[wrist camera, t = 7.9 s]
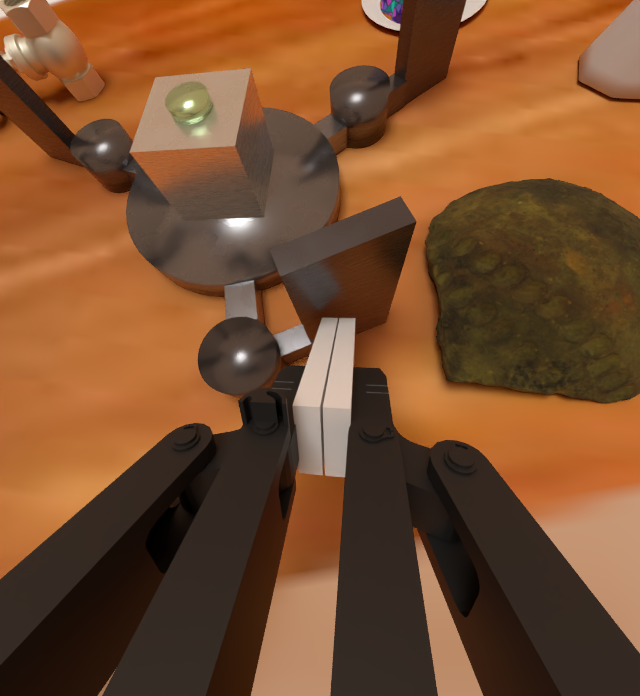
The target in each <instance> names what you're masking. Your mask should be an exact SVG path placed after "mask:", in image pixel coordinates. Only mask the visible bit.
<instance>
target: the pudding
mask: <svg viewBox="0 0 640 696" xmlns="http://www.w3.org/2000/svg"><path fill="white" fill-rule="evenodd" d="M485 2H486V0H466V4H465V7H464V11H463V15H462V19H461V22H462V21H464V20H466V19H467V18H469V17H471V16H472V15H473V14H475V13H476V12H477V11H478V10H480V8H481V7H482V6H483V5H484V4H485ZM362 7H363V9H364V11H365V13H366V15H367V16H368V17H369V18H370V19H371V20H373V21H374V22H376V23H377V24H379V25H381V26H384V27H386V28H390V29H393V30H398V31H400V24H401V15H402V7H403V0H382V4H381V9H380V0H362ZM381 10H382V11H383V13H384V14H388V15H391V17H392V20H393V21H394V22H393V21H391V20H389V19H388V18H386V17H385V16H384V15H383V13H382V12H381ZM395 22H396V23H395ZM397 23H399V24H397Z"/></svg>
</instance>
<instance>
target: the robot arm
mask: <svg viewBox="0 0 640 696" xmlns="http://www.w3.org/2000/svg"><path fill="white" fill-rule="evenodd" d="M354 350H355V318H339V323H338V318H322V320H321V323H320V325H319V328H318V331H317V334H316V337H315V340H314V343H313V346H312V349H311V352H310V355H309V358H308V361H307V364H306V366H286V367H285V368H283V369H282V370H281V371H280V372H279V373H278V375H277V377H276V379H275V382H274V383H273V385H272V388H261V389H257V390H254V391H251V392H249V393H247V394H245V395H244V396H243V397H242V398H241V399H240V400H239V401H238V402H239V407H240V412H241V417H242V421H243V426H242V428H241V429H239V430H235V431H231V432H225V433H220V434H214V435H213V433H212V431H211V429H210V427H208V426H207V425H205V424H199V423H193V424H188V425H184V426H182V427H179V428H177V429H175V430H174V431H172V432H171V433H169V434H168V435H167V436H165V437H164V438H163V439H162V440H161V441H160V442H159V443H157V444H156V445H155V446H154V447H153V448H152V449H150V450H149V451H148V452H147V453H146V454H145V455H144V456H142V457H141V458H140V459H139V460H138V461H137V462H135V463H134V464H133V465H132V466H131V467H130V468H129V469H127V470H126V471H125V472H124V473H123V474H122V475H120V476H119V477H118V478H117V479H116V480H115V481H114V482H112V483H111V484H110V485H109V486H108V487H107V488H105V489H104V490H103V491H102V492H101V493H100V494H99V495H97V496H96V497H95V498H94V499H93V500H92V501H90V502H89V503H88V504H87V505H86V506H85V507H84V508H82V509H81V510H80V511H79V512H78V513H77V514H75V515H74V516H73V517H72V518H71V519H70V520H68V521H67V522H66V523H65V524H64V525H63V526H62V527H60V528H59V529H58V530H57V531H56V532H55V533H53V534H52V535H51V536H50V537H49V538H48V539H47V540H45V541H44V542H43V543H42V544H41V545H40V546H38V547H37V548H36V549H35V550H34V551H33V552H32V553H30V554H29V555H28V556H27V557H26V558H25V559H23V560H22V561H21V562H20V563H19V564H18V565H17V566H15V567H14V568H13V569H12V570H11V571H10V572H8V573H7V574H6V575H5V576H4V577H3V578H2V579H0V696H97V695H98V694H99V692H100V691H101V690H102V688H103V687H104V685H105V684H106V682H107V681H108V680H109V678H110V677H111V675H112V674H113V672H114V671H115V672H114V674H113V676H112V678H111V680H110V682H109V684H108V686H107V688H106V690H105V691H104V694H103V695H102V696H251V691H252V687H253V682H254V678H255V673H256V669H257V664H258V660H259V655H260V650H261V646H262V641H263V637H264V632H265V627H266V623H267V618H268V614H269V609H270V605H271V600H272V596H273V591H274V587H275V582H276V577H277V573H278V568H279V564H280V559H281V555H282V550H283V545H284V541H285V536H286V532H287V527H288V523H289V518H290V514H291V509H292V504H293V500H294V495H295V491H296V480H295V474H296V470H297V466H298V467H299V473H302V474H313V475H323V470H324V463H325V476H335V477H345V486H344V501H343V516H342V531H341V546H340V561H339V576H338V591H337V607H336V621H335V636H334V652H333V666H332V667H333V668H332V681H331V696H438V694H437V687H436V681H435V674H434V667H433V660H432V654H431V647H430V640H429V634H428V628H427V621H426V614H425V607H424V601H423V594H422V587H421V581H420V574H419V567H418V561H417V554H416V547H415V541H414V534H413V527H415V528H417V529H418V532H419V535H420V537H421V540H422V542H423V545H424V547H425V550H426V552H427V555H428V557H429V560H430V562H431V565H432V568H433V570H434V572H435V575H436V578H437V580H438V582H439V585H440V588H441V590H442V592H443V595H444V598H445V600H446V602H447V605H448V607H449V610H450V613H451V615H452V618H453V620H454V623H455V625H456V628H457V630H458V633H459V635H460V638H461V640H462V643H463V645H464V648H465V650H466V653H467V655H468V658H469V660H470V663H471V665H472V668H473V670H474V673H475V676H476V678H477V680H478V683H479V685H480V688H481V691H482V693H483V695H484V696H640V653H639V652H638V651H637V650H636V648H635V647H634V646H633V644H632V643H631V642H630V641H629V639H628V638H627V637H626V635H625V634H624V633H623V632H622V630H621V629H620V628H619V627H618V625H617V624H616V623H615V621H614V620H613V619H612V618H611V616H610V615H609V614H608V612H607V611H606V610H605V609H604V608H603V606H602V605H601V604H600V602H599V601H598V600H597V598H596V597H595V596H594V595H593V593H592V592H591V591H590V590H589V589H588V587H587V586H586V584H585V583H584V582H583V581H582V580H581V578H580V577H579V575H578V574H577V573H576V572H575V570H574V569H573V568H572V567H571V565H570V564H569V563H568V561H567V560H566V559H565V558H564V556H563V555H562V554H561V552H560V551H559V550H558V549H557V547H556V546H555V545H554V544H553V542H552V541H551V540H550V538H549V537H548V536H547V535H546V533H545V532H544V531H543V530H542V528H541V527H540V526H539V524H538V523H537V522H536V521H535V519H534V518H533V517H532V515H531V514H530V513H529V512H528V510H527V509H526V508H525V507H524V505H523V504H522V503H521V501H520V500H519V499H518V498H517V496H516V495H515V494H514V492H513V491H512V490H511V489H510V487H509V486H508V485H507V484H506V482H505V481H504V480H503V478H502V477H501V476H500V475H499V473H498V472H497V471H496V470H495V468H494V467H493V466H492V464H491V463H490V462H489V461H488V459H487V458H486V457H485V456H484V455H483V454H482V453H481V452H480V451H479V450H477V449H475V448H474V447H472V446H470V445H468V444H466V443H463V442H459V441H454V440H444V441H441V442H437V443H436V444H435V445H434V446H433V447H432V448H431V449H430V448H427V447H424V446H421V445H418V444H415V443H413V442H411V441H409V440H407V439H405V438H404V437H402V436H401V435H400V434H399V433H398V432H397V430H396V428H395V427H394V425H393V421H392V414H391V407H390V400H389V394H388V387H387V379H386V375H385V374H384V373H383V372H382V371H381V370H380V368H358V367H354ZM412 526H413V527H412ZM115 669H116V670H115Z"/></svg>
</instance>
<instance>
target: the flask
mask: <svg viewBox="0 0 640 696" xmlns="http://www.w3.org/2000/svg"><path fill="white" fill-rule="evenodd" d="M579 81H580V82H582V83H584V84H586V85H588V86H590V87H592V88H594V89H596V90H598V91H600V92H602V93H604V94H606V95H608V96H610V97H612V98H626V99H640V0H633V1H632V2H631V3H630V4H629V5H628V7H627V8H626V9H625V10H624V11H623V12H622V13H621V14H620V15H619V16H618V17H617V18H616V19H615V20H614V21H613V22H612V23H611V24H610V25H609V26H608V27H607V28H606V29H605V30H604V31H603V32H602V33H601V34H600V36H599V37H598V38H597V39H596V40H595V41H594V42H593V43H592V44H591V45H590V46H589V47H588V48H587V49H586V50H585V51H584V52H583V54H582V55H581V56H580V57H579Z"/></svg>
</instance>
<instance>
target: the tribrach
mask: <svg viewBox="0 0 640 696" xmlns="http://www.w3.org/2000/svg"><path fill="white" fill-rule="evenodd" d="M465 4H466V0H403V7H402V15H401V24H400V32H399V41H398V49H397V58H396V66H395V74H393V75H392V76H390V77H388V75H387V74H386V73H385V72H384V71H383V70H381V69H379V68H376V67H373V66H356V67H352V68H349V69H346V70H344V71H342V72H341V73H339V74H338V75H337V76H336V77H335V78H334V79H333V81H332V82H331V85H330V100H331V114H330V115H328V116H326V117H325V118H323V119H322V120H320V121H319V122H317V123H316V124H314V125H313V124H312V123H310V122H308V121H307V120H305V119H304V118H302V117H300V116H297V115H295V114H293V113H290V112H286V111H283V110H279V109H273V108H264V107H262V106H261V103H260V99H259V95H258V92H257V88H256V84H255V81H254V77H253V74H252V70H251V68H249V69H238V70H228V71H218V72H207V73H197V74H187V75H176V76H166V77H156V78H155V81H154V83H153V86H152V89H151V92H150V95H149V98H148V101H147V104H146V106H145V109H144V112H143V115H142V118H141V121H140V124H139V127H138V129H137V132H136V135H135V138H134V141H132V139H131V138H130V137H129V135H128V134H127V133H126V131H125V130H124V129H123V127H122V126H121V125H120V123H118V122H117V121H115V120H112V119H101V120H97V121H94V122H91V123H89V124H88V125H86V126H84V127H83V128H82V129H81V130H79V131H78V132H77V134H76V135H74V134H73V133H72V132H71V131H70V130H69V128H68V127H67V126H66V125H65V124H64V123H63V122H62V121H61V120H60V119H59V118H58V117H57V116H56V114H55V113H54V112H53V111H52V110H51V109H50V108H49V107H48V106H47V105H46V104H45V103H44V102H43V100H42V99H41V98H40V97H39V96H38V95H37V94H36V93H35V92H34V91H33V90H32V89H31V88H30V87H29V85H28V84H27V83H26V82H25V81H24V80H23V79H22V78H21V77H20V76H19V75H18V74H17V73H16V71H15V70H14V69H13V68H12V67H11V66H10V65H9V64H8V63H7V62H6V61H5V60H4V59H3V57H2V56H1V55H0V111H1V112H2V113H4V114H5V115H6V116H7V117H8V118H9V119H10V120H11V121H12V122H13V123H14V124H15V125H17V126H18V127H19V128H20V129H21V130H22V131H23V132H24V133H25V134H26V135H27V136H29V137H30V138H31V139H32V140H33V141H34V142H35V143H36V144H37V145H38V146H39V147H41V148H42V149H43V150H44V151H45V152H46V153H47V154H48V155H49V156H50V157H53V158H56V159H59V160H63V161H66V162H70V163H73V164H76V165H80V166H83V167H85V168H86V169H87V170H88V171H89V172H90V173H91V174H92V175H93V176H94V177H95V178H96V179H97V180H98V181H99V182H100V183H101V184H102V185H103V186H104V187H105V188H106V189H107V190H109V191H111V192H116V193H120V192H126V191H129V190H130V192H129V196H128V200H127V209H126V215H127V225H128V229H129V233H130V236H131V238H132V240H133V243H134V244H135V246H136V247H137V249H138V251H139V252H140V253H141V254H142V255H143V256H144V257H145V259H146V260H147V261H149V262H150V263H151V264H152V265H153V266H154V267H156V268H157V269H158V270H159V271H160V272H162V273H163V274H164V275H165V276H166V277H168V278H169V279H170V280H172V281H173V282H174V283H176V284H178V285H179V286H181V287H183V288H185V289H188V290H190V291H193V292H196V293H200V294H205V295H210V296H223V297H224V296H225V306H226V320H227V319H229V318H233V317H249V318H253V319H255V320H257V321H259V322H261V323H262V324H263V325H265V322H264V313H263V303H262V294H261V290H265V289H267V288H270V287H272V286H274V285H277V284H279V283H281V282H283V281H282V279H281V277H280V274H279V272H278V269H277V267H276V264H275V262H274V259H273V257H272V254H271V252H270V249H271V248H274V247H276V246H279V245H281V244H284V243H286V242H289V241H291V240H294V239H296V238H299V237H301V236H304V235H306V234H309V233H311V232H314V231H316V230H318V229H321V228H323V227H326V226H328V225H331V224H333V223H336V221H337V218H338V215H339V208H340V184H339V167H338V162H337V158H336V154H337V153H339V152H340V151H342V150H343V149H345V148H346V147H350V148H362V147H366V146H369V145H372V144H374V143H375V142H377V141H378V140H379V139H380V138H381V137H382V136H383V134H384V132H385V127H386V118H387V117H389V116H390V115H392V114H393V113H395V112H396V111H398V110H399V109H401V108H402V107H403V106H404V105H405V104H406V103H408V102H409V101H411V100H412V99H414V98H415V97H417V96H418V95H420V94H422V93H423V92H425V91H426V90H428V89H429V88H431V87H432V86H434V85H435V84H437V83H438V82H440V81H441V80H443V79H444V78H446V75H447V72H448V68H449V64H450V60H451V57H452V53H453V49H454V45H455V41H456V38H457V34H458V30H459V26H460V23H461V19H462V15H463V11H464V7H465Z"/></svg>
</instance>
